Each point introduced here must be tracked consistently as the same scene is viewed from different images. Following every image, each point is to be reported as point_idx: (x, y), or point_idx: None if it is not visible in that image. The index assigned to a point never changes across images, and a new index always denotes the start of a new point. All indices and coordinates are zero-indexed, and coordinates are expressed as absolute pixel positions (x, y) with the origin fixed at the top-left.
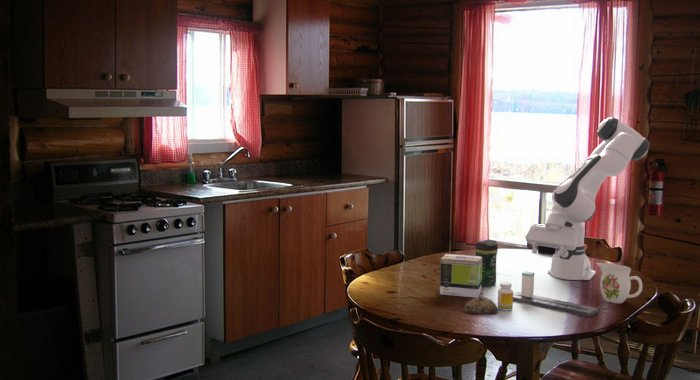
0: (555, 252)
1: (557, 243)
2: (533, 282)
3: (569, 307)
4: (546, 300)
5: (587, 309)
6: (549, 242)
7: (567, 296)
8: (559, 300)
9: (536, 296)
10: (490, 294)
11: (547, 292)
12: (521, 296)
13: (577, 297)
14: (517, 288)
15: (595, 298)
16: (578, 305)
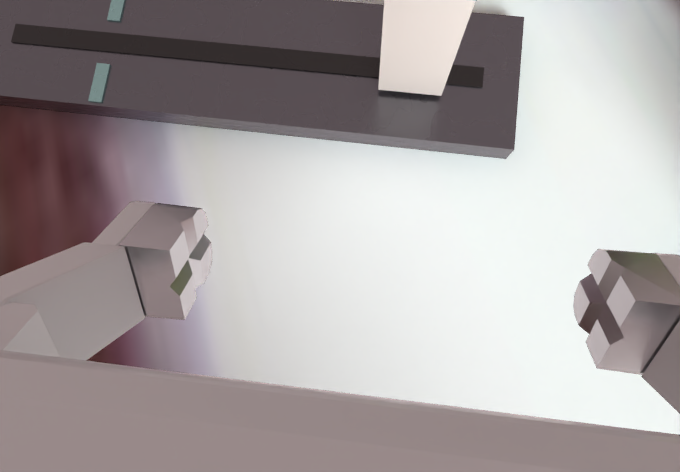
0: (177, 229)
1: (55, 358)
2: (383, 26)
3: (115, 3)
4: (275, 59)
5: (15, 27)
6: (346, 396)
7: (216, 343)
8: (206, 115)
9: (362, 114)
10: (662, 77)
11: (365, 363)
12: None
13: (151, 359)
14: (586, 338)
15: None
16: (79, 80)
